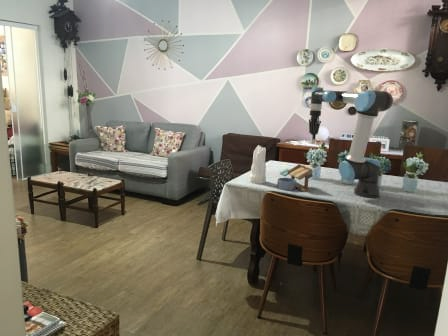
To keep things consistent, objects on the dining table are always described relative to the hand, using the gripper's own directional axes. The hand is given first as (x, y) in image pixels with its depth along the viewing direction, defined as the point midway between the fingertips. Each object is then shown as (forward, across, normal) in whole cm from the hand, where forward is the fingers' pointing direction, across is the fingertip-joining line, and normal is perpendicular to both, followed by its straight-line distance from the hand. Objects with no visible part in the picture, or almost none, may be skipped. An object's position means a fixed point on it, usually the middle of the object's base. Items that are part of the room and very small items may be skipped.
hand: (312, 143), depth 256 cm
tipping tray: (+20, +15, -18) cm, 30 cm away
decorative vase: (+27, 0, -40) cm, 48 cm away
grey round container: (+26, +18, -27) cm, 42 cm away
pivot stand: (+26, +18, -18) cm, 37 cm away
